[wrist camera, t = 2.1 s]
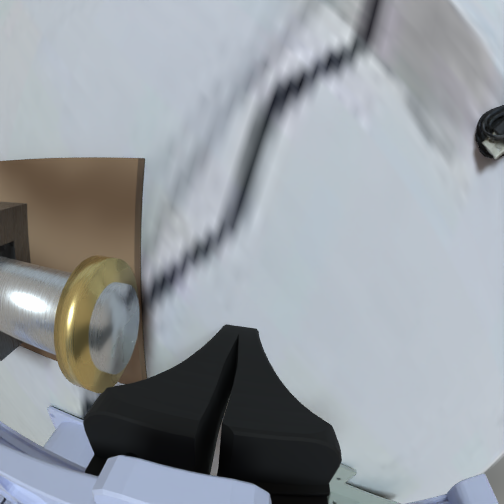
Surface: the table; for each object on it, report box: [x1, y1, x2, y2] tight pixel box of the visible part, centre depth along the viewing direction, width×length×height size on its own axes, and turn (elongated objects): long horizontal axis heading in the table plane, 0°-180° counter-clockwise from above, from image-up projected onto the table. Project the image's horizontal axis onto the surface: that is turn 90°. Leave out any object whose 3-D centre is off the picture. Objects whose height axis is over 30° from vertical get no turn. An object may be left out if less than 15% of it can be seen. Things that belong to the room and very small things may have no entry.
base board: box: [0, 158, 147, 384], centre depth 16 cm, size 14×24×1 cm, turn 84°
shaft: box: [0, 255, 140, 393], centre depth 12 cm, size 6×16×6 cm, turn 84°
